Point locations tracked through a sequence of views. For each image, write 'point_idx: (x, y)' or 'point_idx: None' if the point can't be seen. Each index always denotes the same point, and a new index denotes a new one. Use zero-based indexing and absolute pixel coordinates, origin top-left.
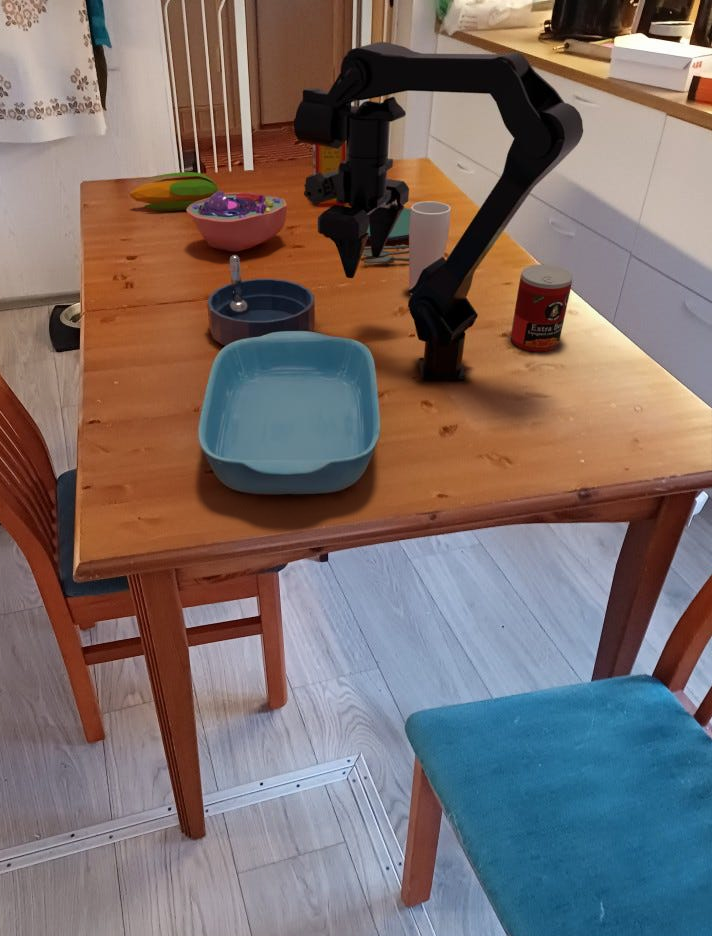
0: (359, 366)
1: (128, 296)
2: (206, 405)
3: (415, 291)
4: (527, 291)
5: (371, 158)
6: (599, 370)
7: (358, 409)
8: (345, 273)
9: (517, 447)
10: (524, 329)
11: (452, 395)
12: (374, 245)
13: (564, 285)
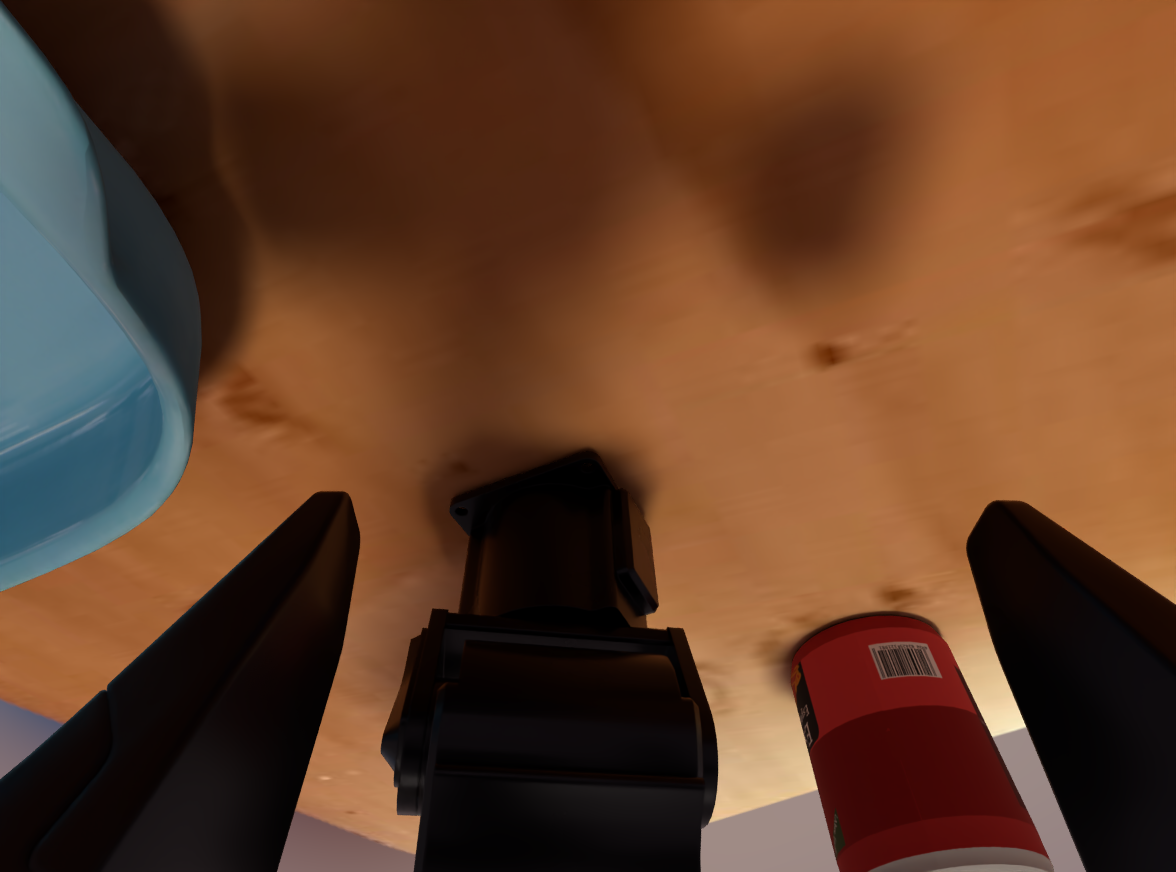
0: (145, 428)
1: None
2: None
3: (426, 802)
4: (866, 835)
5: None
6: (727, 755)
7: (9, 445)
8: (293, 517)
9: None
10: (816, 704)
11: (420, 578)
12: (1048, 610)
13: None
